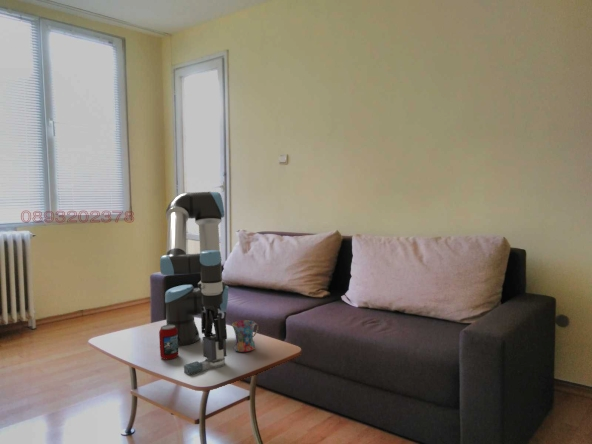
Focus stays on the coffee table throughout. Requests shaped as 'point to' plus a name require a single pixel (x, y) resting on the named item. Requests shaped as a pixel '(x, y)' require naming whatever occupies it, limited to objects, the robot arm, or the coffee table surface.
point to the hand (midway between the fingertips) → (214, 355)
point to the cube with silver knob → (211, 347)
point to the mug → (244, 335)
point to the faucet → (203, 365)
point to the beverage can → (168, 342)
